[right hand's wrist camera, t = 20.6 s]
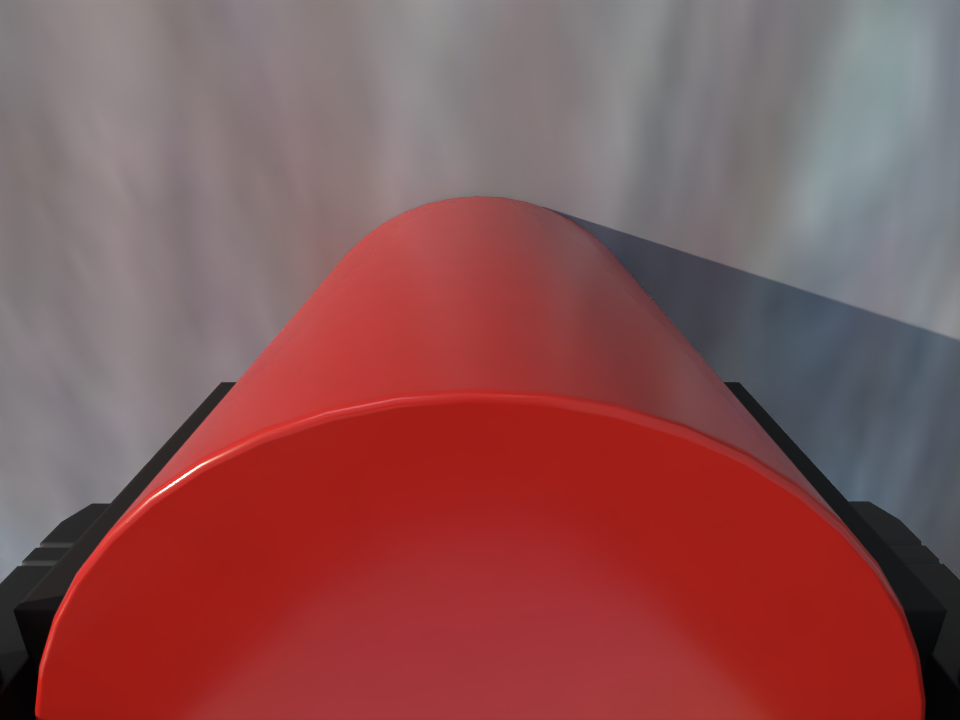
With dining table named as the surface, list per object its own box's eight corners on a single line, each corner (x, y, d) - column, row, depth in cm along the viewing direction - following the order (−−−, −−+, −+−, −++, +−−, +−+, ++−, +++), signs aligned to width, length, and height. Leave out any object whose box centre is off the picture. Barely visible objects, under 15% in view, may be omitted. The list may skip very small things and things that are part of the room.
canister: (254, 430, 18) (-63, 897, 8) (403, 123, 15) (228, 177, 5) (539, 562, 20) (607, 1098, 9) (723, 307, 17) (1136, 661, 6)
